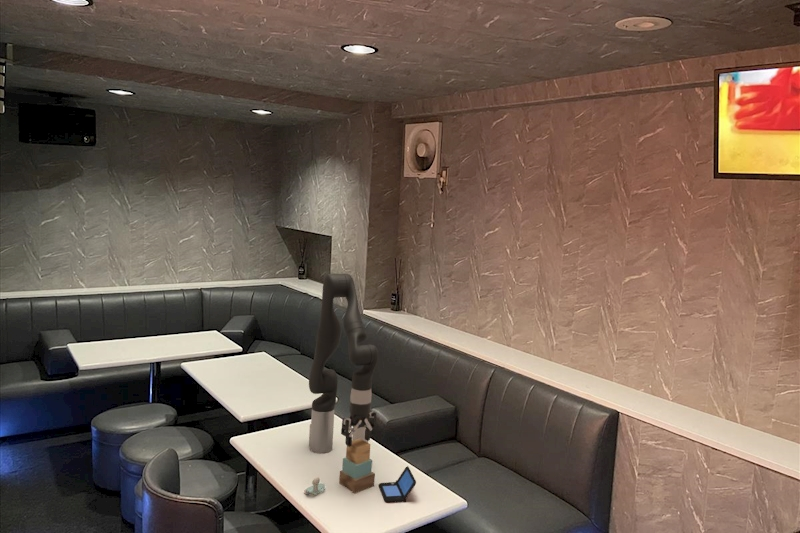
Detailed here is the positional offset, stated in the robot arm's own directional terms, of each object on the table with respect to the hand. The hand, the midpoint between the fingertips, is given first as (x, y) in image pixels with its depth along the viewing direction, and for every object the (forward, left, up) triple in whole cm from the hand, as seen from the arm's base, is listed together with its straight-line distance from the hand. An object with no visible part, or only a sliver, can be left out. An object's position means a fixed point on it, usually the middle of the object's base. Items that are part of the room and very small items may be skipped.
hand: (358, 442), depth 202 cm
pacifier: (-5, -15, -16) cm, 23 cm away
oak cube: (0, 0, -6) cm, 6 cm away
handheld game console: (+13, +8, -16) cm, 23 cm away
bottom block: (0, 0, -16) cm, 16 cm away
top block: (0, 0, -11) cm, 11 cm away
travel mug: (-11, +11, -16) cm, 23 cm away
